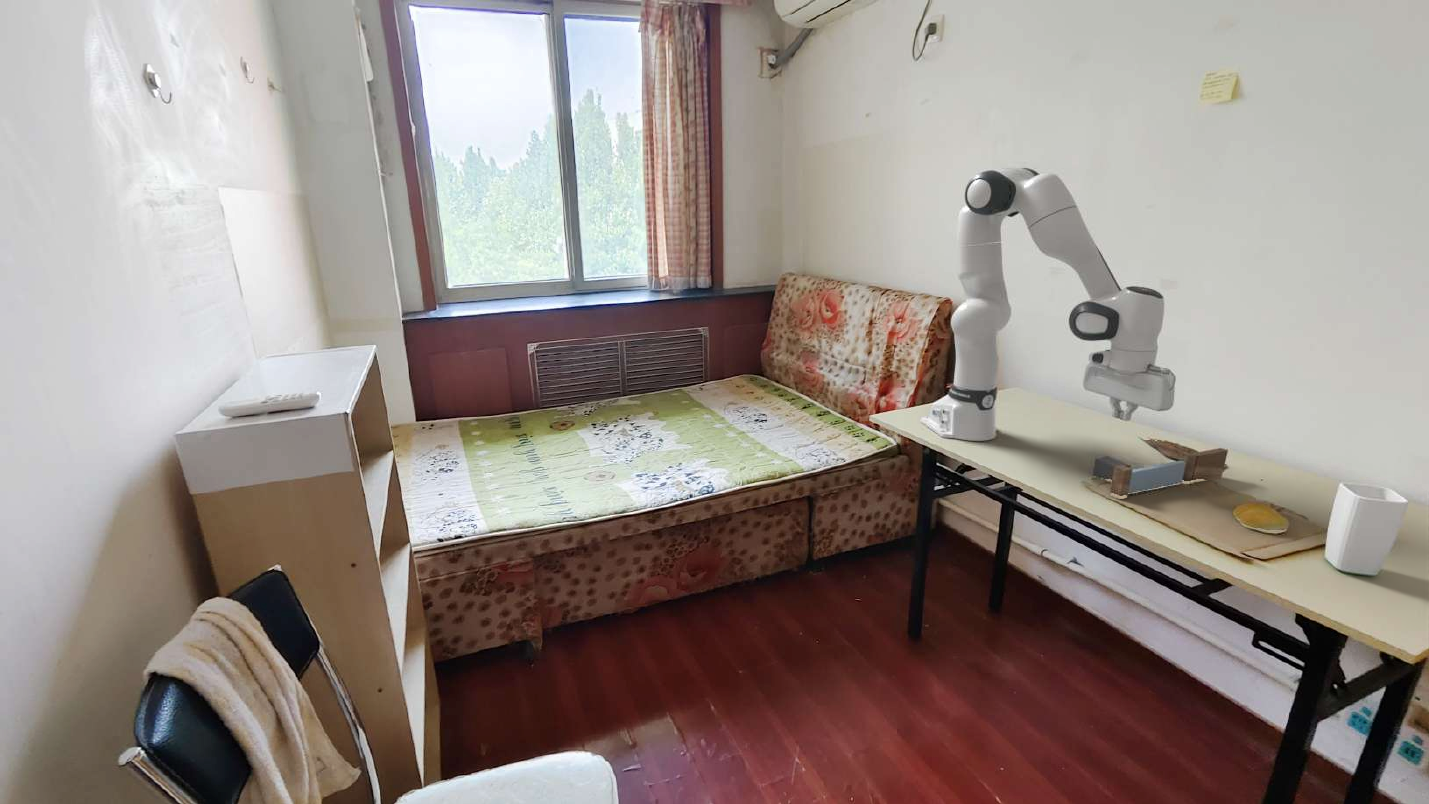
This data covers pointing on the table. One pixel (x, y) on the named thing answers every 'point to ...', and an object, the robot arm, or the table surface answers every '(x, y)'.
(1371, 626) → the table surface
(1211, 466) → the block
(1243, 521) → the bread roll
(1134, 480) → the gate
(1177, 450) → the wooden fragment
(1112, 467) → the block
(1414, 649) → the table surface
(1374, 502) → the cup
